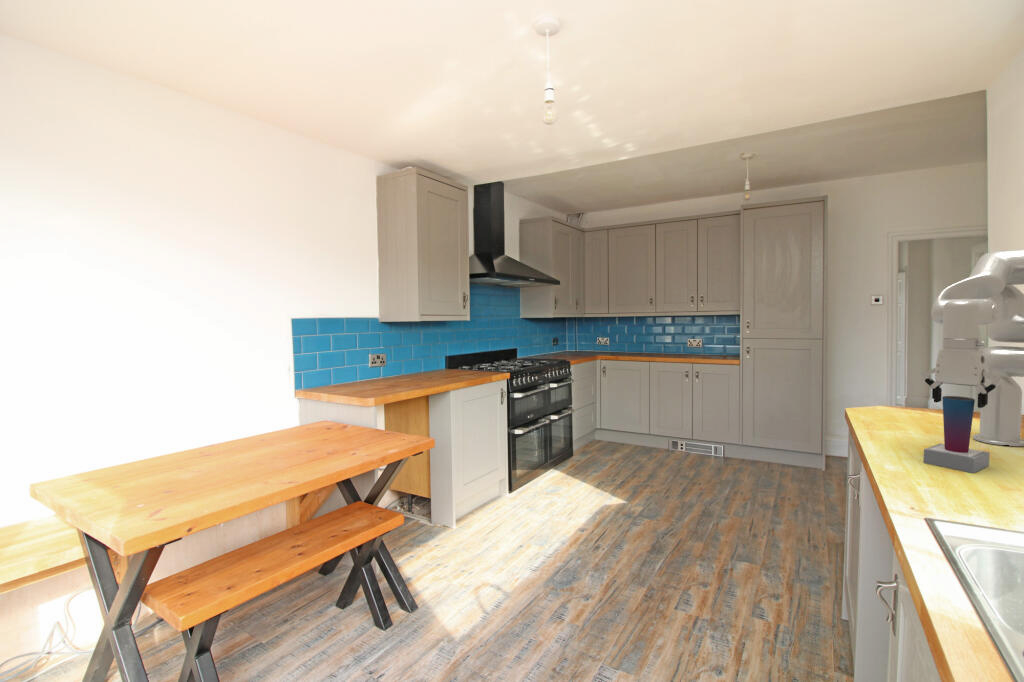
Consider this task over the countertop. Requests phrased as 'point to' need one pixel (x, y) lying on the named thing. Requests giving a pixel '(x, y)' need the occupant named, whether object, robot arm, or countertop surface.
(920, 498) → the countertop surface
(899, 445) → the countertop surface
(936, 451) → the riser
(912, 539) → the countertop surface
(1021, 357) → the robot arm
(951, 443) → the cup
